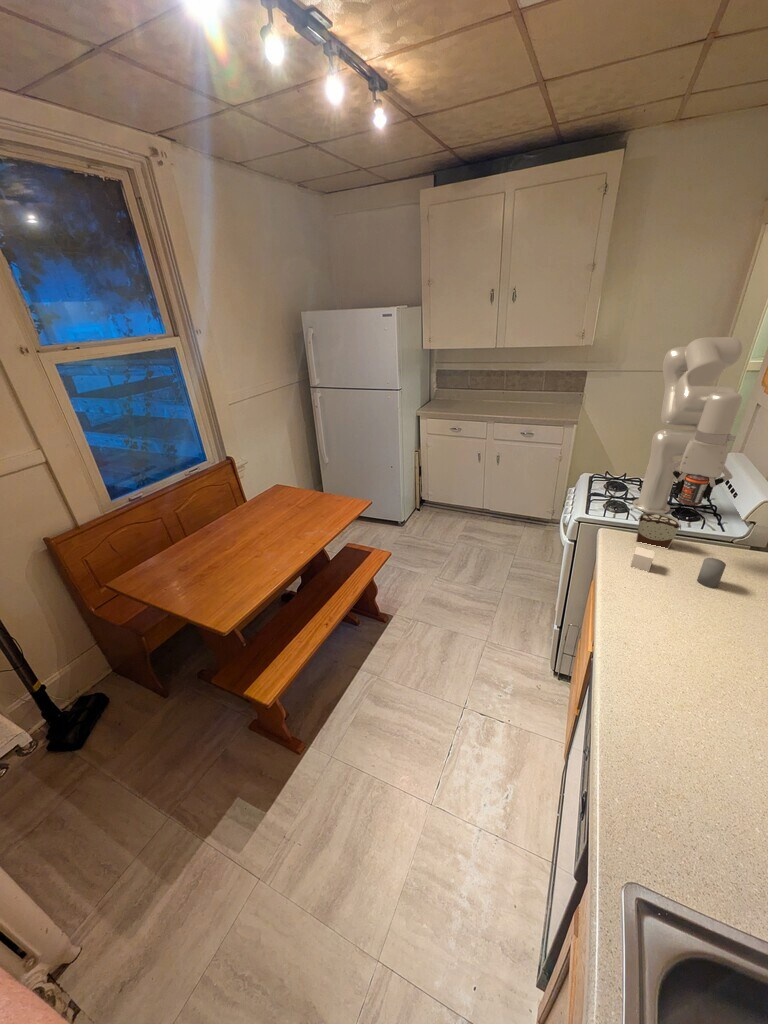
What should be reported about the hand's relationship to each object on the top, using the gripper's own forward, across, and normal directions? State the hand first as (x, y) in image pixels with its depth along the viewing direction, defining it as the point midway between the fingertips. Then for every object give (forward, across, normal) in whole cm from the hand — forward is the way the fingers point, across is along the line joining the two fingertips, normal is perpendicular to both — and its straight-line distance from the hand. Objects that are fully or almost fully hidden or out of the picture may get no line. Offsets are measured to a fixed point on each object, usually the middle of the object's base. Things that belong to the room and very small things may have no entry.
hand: (691, 494), depth 123 cm
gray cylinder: (+21, -10, +12) cm, 27 cm away
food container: (+22, +6, -5) cm, 23 cm away
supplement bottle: (+3, 0, 0) cm, 3 cm away
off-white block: (+21, +7, +13) cm, 26 cm away
